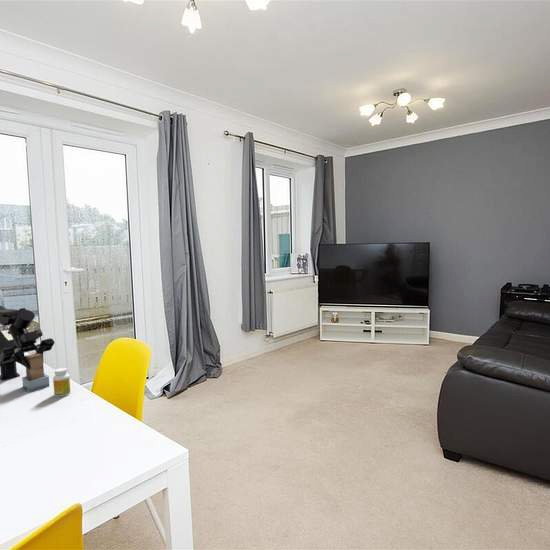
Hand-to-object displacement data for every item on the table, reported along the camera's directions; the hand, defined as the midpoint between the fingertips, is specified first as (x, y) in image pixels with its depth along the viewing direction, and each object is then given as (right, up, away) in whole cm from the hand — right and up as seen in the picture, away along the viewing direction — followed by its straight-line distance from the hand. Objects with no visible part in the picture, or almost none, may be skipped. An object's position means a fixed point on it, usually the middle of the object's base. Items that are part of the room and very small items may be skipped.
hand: (36, 366), depth 150 cm
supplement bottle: (+14, -9, -6) cm, 18 cm away
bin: (-1, -8, +2) cm, 9 cm away
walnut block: (-1, -7, +1) cm, 7 cm away
